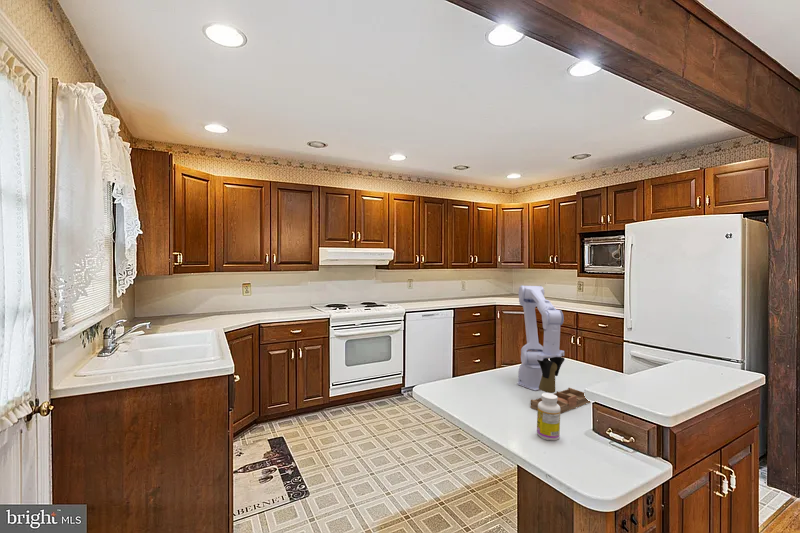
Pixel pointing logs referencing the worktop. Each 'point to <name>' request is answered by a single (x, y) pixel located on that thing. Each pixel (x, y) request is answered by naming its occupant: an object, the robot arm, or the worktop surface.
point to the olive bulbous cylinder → (549, 380)
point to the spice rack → (565, 400)
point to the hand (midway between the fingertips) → (550, 376)
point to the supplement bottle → (548, 417)
